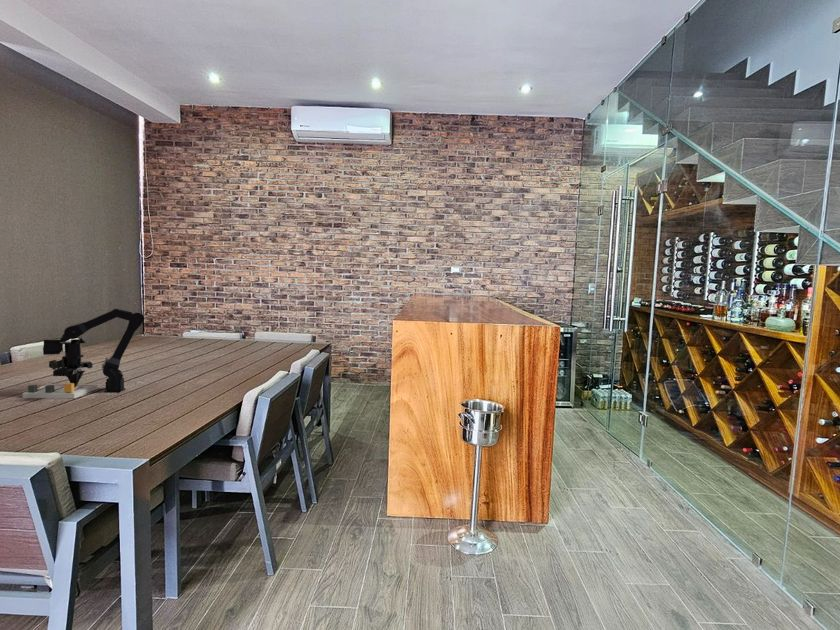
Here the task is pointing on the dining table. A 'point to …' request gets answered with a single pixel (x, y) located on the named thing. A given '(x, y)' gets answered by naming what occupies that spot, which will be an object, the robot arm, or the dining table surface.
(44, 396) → the breaker panel
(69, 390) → the block
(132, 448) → the dining table surface
